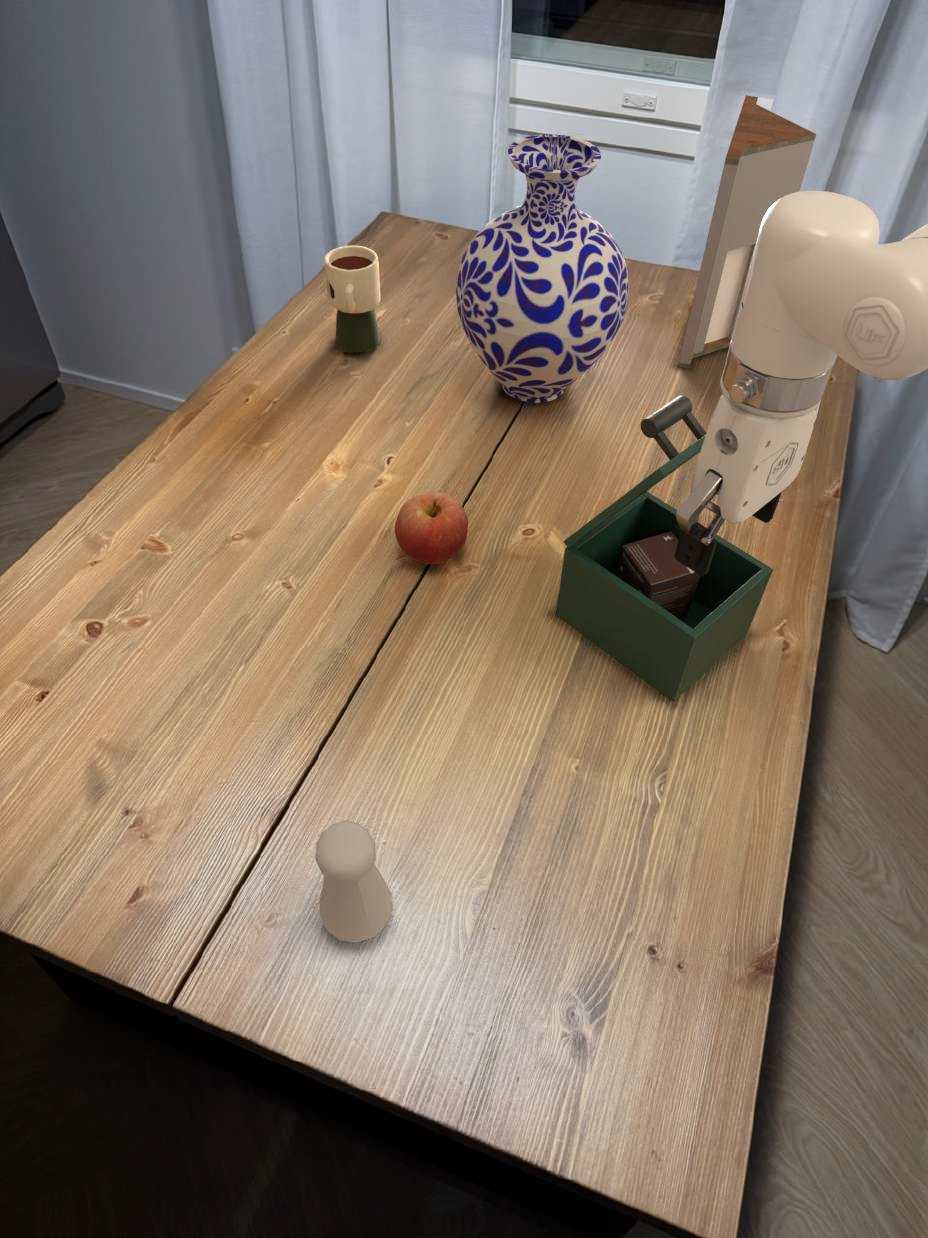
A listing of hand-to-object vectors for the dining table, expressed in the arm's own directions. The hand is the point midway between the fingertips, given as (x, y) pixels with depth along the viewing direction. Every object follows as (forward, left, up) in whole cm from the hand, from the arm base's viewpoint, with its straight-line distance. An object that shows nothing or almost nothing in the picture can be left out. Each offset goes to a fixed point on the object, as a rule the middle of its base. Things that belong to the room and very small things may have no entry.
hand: (723, 539), depth 79 cm
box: (+5, -4, -15) cm, 16 cm away
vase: (+25, -42, -16) cm, 51 cm away
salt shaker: (+23, +35, -16) cm, 45 cm away
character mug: (+51, -44, -16) cm, 69 cm away
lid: (+7, -4, +1) cm, 8 cm away
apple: (+29, -7, -16) cm, 34 cm away
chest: (+4, -3, -16) cm, 17 cm away
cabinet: (+1, -62, -16) cm, 64 cm away
